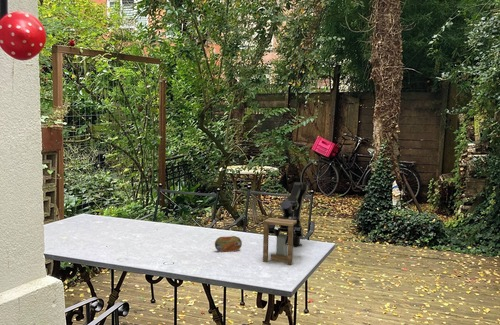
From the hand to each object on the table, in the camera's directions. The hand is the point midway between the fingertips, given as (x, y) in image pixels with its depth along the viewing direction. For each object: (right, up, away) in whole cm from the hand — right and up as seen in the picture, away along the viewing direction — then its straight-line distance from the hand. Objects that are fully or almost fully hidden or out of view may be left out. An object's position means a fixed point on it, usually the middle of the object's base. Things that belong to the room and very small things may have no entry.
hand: (281, 244), depth 243 cm
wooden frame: (-1, -8, -3) cm, 9 cm away
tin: (-29, -6, +13) cm, 32 cm away
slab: (0, -7, +1) cm, 7 cm away
